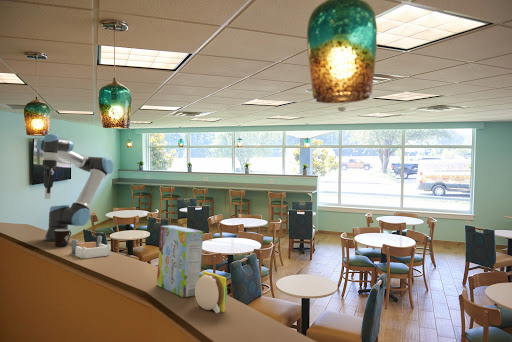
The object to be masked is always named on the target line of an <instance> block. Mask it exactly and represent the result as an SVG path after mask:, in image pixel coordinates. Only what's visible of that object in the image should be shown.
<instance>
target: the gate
mask: <svg viewBox="0 0 512 342" xmlns="http://www.w3.org/2000/svg"><path fill="white" fill-rule="evenodd" d="M76 246H79V247H81V248H82V247H86V248H96V247H97V241H89V242H87V241H86V242H79V239H72V241H71V253H75V251H76Z"/></svg>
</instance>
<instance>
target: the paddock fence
mask: <svg viewBox="0 0 512 342" xmlns="http://www.w3.org/2000/svg"><path fill="white" fill-rule="evenodd" d="M96 238H97V239H96V248H86V247H82V248H81V247H79V246H78V245H77V246H76V251H75V253H72V252H70V253H69V255H70V256H76V257H78V258H81V259H89V258H91V259H92V258H97V257H98V258H99V257H106V256H110V255H111V244H110V243H109V244H104V243H102V240H103V236H101V235H98V236H97V237H96Z"/></svg>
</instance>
